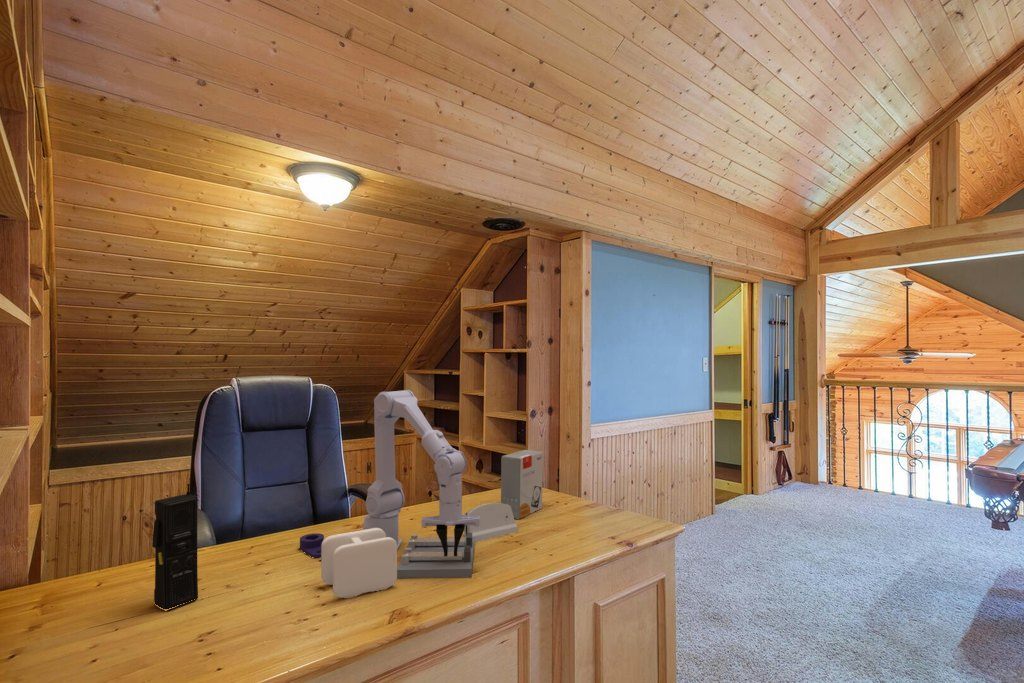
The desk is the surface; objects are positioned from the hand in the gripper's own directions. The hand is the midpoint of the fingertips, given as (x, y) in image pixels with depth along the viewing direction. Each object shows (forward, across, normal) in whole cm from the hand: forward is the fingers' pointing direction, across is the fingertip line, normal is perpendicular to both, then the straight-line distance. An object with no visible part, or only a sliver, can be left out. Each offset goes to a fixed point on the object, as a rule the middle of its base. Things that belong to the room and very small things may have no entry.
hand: (450, 554), depth 133 cm
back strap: (+1, -4, +10) cm, 11 cm away
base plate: (+3, -4, +5) cm, 7 cm away
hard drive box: (+3, +20, +45) cm, 50 cm away
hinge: (+4, +10, +24) cm, 27 cm away
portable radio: (+3, -59, -17) cm, 61 cm away
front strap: (+1, -4, 0) cm, 4 cm away
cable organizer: (+4, -20, -10) cm, 23 cm away
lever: (+4, -38, +13) cm, 41 cm away
